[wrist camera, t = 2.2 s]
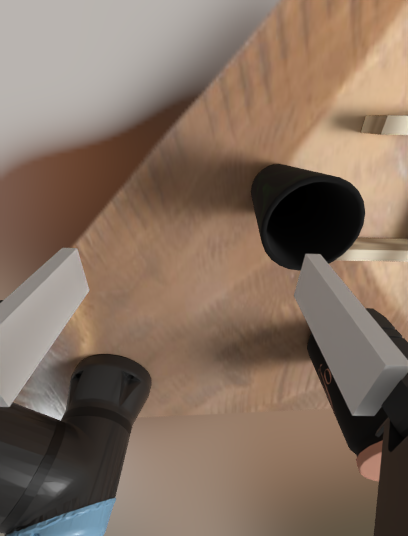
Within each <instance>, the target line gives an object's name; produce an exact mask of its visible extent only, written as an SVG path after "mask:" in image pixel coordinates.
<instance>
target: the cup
mask: <svg viewBox="0 0 408 536" xmlns="http://www.w3.org/2000/svg"><path fill="white" fill-rule="evenodd" d="M251 195H252V201H253V205H254V210H255V214H256V219H257V223H258V228H259V232H260V237H261V241H262V244H263V247H264V249H265V252H266V253H267V254H268V256H269V257H270V258H271V260H273V261H274V262H276V263H277V264H278V265H280V266H283V267H285V268H288V269H293V270H301V268H302V265H303V261H304V258H305V254H321V256H322V257H323V258H324V259H325V260H326V262H327V263H328V264H329V263H331V262H333V261H334V260H336V259H337V258H339V257H340V256H342V255H343V254H344V253H345V252H346V251H347V250H348V249H349V248H350V247H351V246H352V245H353V243H354V242H355V240H356V239H357V237H358V236H359V234H360V231H361V229H362V227H363V224H364V217H365V208H364V201H363V199H362V197H361V195H360V193H359V191H358V190H357V189H356V188H355V187H354V186H353V185H352V184H351V183H350V182H348V181H346V180H344V179H342V178H340V177H335V176H331V175H326V174H322V173H318V172H313V171H309V170H304V169H300V168H295V167H291V166H287V165H281V164H276V165H271V166H268V167H266V168H265V169H263V170H262V171H261V172H260V173H259V174H258V175H257V176H256V178H255V179H254V181H253V184H252V188H251Z"/></svg>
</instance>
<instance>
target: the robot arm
mask: <svg viewBox="0 0 408 536" xmlns="http://www.w3.org/2000/svg"><path fill="white" fill-rule="evenodd" d="M88 292H89V287H88V284H87V281H86V277H85V274H84V270H83V267H82V263H81V260H80V257H79V253H78V250H77V248H62V249H61V250H60V251H58V252H57V253H56V254H55V255H54V256H53V257H52V258H51V259H50V260H48V261H47V262H46V263H45V264H44V265H43V266H42V267H40V268H39V269H38V270H37V271H36V272H35V273H34V274H33V275H31V276H30V277H29V278H28V279H27V280H26V281H25V282H24V283H22V285H20V286H19V287H18V288H17V289H16V290H15V291H14V292H12V294H10V295H9V296H8V297H7V298H6V299H5V300H0V533H4V534H5V536H103V535H104V533H105V531H106V528H107V524H108V521H109V518H110V515H111V511H112V508H113V505H114V503H115V501H116V498H115V496H116V492H117V487H118V484H119V479H120V475H121V471H122V466H123V462H124V458H125V454H126V450H127V446H128V442H129V437H130V433H131V429H132V425H133V423H134V421H135V420H136V418H137V416H138V414H139V413H140V411H141V409H142V407H143V405H144V404H145V402H146V400H147V398H148V396H149V393H150V388H151V377H150V375H149V373H148V372H147V371H146V370H145V369H144V368H143V367H142V366H141V365H139V364H138V363H136V362H134V361H132V360H130V359H127V358H124V357H121V356H116V355H96V356H91V357H88V358H86V359H84V360H83V361H81V362H80V363H79V364H78V365H77V367H76V369H75V371H74V373H73V375H72V377H71V381H70V387H69V394H68V400H67V406H66V411H65V413H64V415H63V418H62V420H61V421H60V420H57V419H55V418H52V417H50V416H47V415H44V414H42V413H39V412H36V411H34V410H31V409H28V408H26V407H23V406H21V405H18V404H16V403H13V401H14V400H15V398H16V397H17V395H18V394H19V392H20V391H21V389H22V388H23V386H24V385H25V383H26V382H27V381H28V379H29V378H30V376H31V375H32V373H33V372H34V370H35V369H36V367H37V366H38V365H39V363H40V362H41V360H42V359H43V357H44V356H45V354H46V353H47V351H48V350H49V349H50V347H51V346H52V344H53V343H54V341H55V340H56V338H57V337H58V335H59V334H60V333H61V331H62V330H63V328H64V327H65V325H66V324H67V322H68V321H69V319H70V318H71V317H72V315H73V314H74V312H75V311H76V309H77V308H78V306H79V305H80V303H81V302H82V301H83V299H84V298H85V296H86V295H87V293H88ZM294 297H295V299H296V301H297V303H298V305H299V307H300V309H301V311H302V313H303V315H304V317H305V319H306V321H307V323H308V325H309V327H310V330H311V332H312V334H313V336H314V338H315V340H316V342H317V344H318V346H319V348H320V350H321V352H322V354H323V356H324V358H325V360H326V362H327V365H328V367H329V369H330V371H331V373H332V375H333V377H334V379H335V381H336V383H337V385H338V387H339V389H340V391H341V393H342V395H343V397H344V400H345V402H346V404H347V406H348V408H349V410H350V412H351V414H352V416H375V415H376V413H377V412H378V411H379V409H380V408H381V407H383V409H384V411H385V412H386V414H387V416H388V418H387V419H386V420H385V421H384V423H383V424H382V425H381V426H380V427H379V429H378V430H377V432H376V434H375V435H376V436H377V437H380V435H381V434H382V433H383V432H384V433H383V443H382V454H381V465H380V475H379V486H378V497H377V507H376V519H375V529H374V536H408V342H407V341H406V340H405V339H404V338H402V335H401V334H400V333H399V332H398V331H397V330H395V327H394V326H393V325H392V324H391V323H390V322H389V321H388V320H387V318H386V317H384V316H383V315H381V314H380V313H378V312H377V311H376V310H374V309H370V308H364V306H363V305H362V304H361V303H360V302H359V300H358V299H357V298H356V297H355V296H354V294H353V293H352V292H351V291H350V290H349V288H348V287H347V286H346V285H345V283H344V282H343V281H342V280H341V279H340V277H339V276H338V275H337V274H336V273H335V271H334V270H333V269H332V268H331V267H330V265H329V264H328V263H327V262H326V260H325V259H324V258H323V257H322V256H321V254H305V258H304V261H303V265H302V268H301V272H300V275H299V279H298V283H297V286H296V290H295V293H294Z"/></svg>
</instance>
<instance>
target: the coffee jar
mask: <svg viewBox="0 0 408 536" xmlns="http://www.w3.org/2000/svg"><path fill="white" fill-rule="evenodd" d="M307 349H308V353H309V356H310V358H311V360H312V363H313V365H314V367H315V370H316V372H317V374H318V377H319V379H320V381H321V384H322V386H323V388H324V391H325V393H326V395H327V398H328V400H329V402H330V405H331V407H332V409H333V411H334V414H335V416H336V418H337V421H338V423H339V426H340V428H341V430H342V433H343V435H344V437H345V440H346V442H347V444H348V447H349V448H350V450H351V451H353V452H354V453H355V454H356V455H357V459H356V461H357V466H358V469H359V472H360V473H361V474H362V475H363V476H364V477H365V478H368V479H371V480H374V481H379V475H380V465H381V454H382V443H383V433H384V432H383V433H382V434H381V435H380V437H377V436H376V435H375V434H376V432H377V430H378V429H379V427H380V426H381V425H382V424H383V423H384V421H385V420H386V419H387V418H388V416H387V414H386V412H385V411H384V409H383V407H381V408H380V409H379V411H378V412H377V413H376V415H375V416H352V414H351V412H350V410H349V408H348V406H347V404H346V402H345V400H344V397H343V395H342V393H341V391H340V389H339V387H338V385H337V383H336V381H335V379H334V377H333V375H332V373H331V371H330V369H329V367H328V365H327V362H326V360H325V358H324V356H323V354H322V352H321V350H320V348H319V346H318V344H317V342H316V340H315V338H314V336H313V334H311V335H310V338H309V341H308V345H307Z"/></svg>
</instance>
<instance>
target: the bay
mask: <svg viewBox="0 0 408 536" xmlns="http://www.w3.org/2000/svg"><path fill="white" fill-rule="evenodd" d="M361 133H370V134H381V135H408V116H395V115H380V116H366V117H365V120H364V123H363V126H362V130H361ZM336 260H348V261H398V262H408V239H399V238H357V239H356V240H355V242H354V243H353V245H352V246H351V247H350V248H349V249H348V250H347V251H346V252H345V253H344V254H343V255H342V256H340V257H339V258H337V259H336Z"/></svg>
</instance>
